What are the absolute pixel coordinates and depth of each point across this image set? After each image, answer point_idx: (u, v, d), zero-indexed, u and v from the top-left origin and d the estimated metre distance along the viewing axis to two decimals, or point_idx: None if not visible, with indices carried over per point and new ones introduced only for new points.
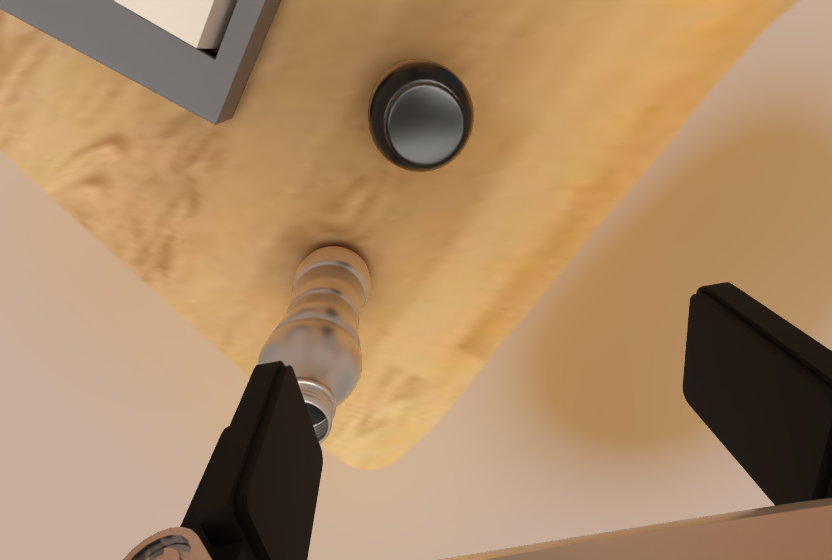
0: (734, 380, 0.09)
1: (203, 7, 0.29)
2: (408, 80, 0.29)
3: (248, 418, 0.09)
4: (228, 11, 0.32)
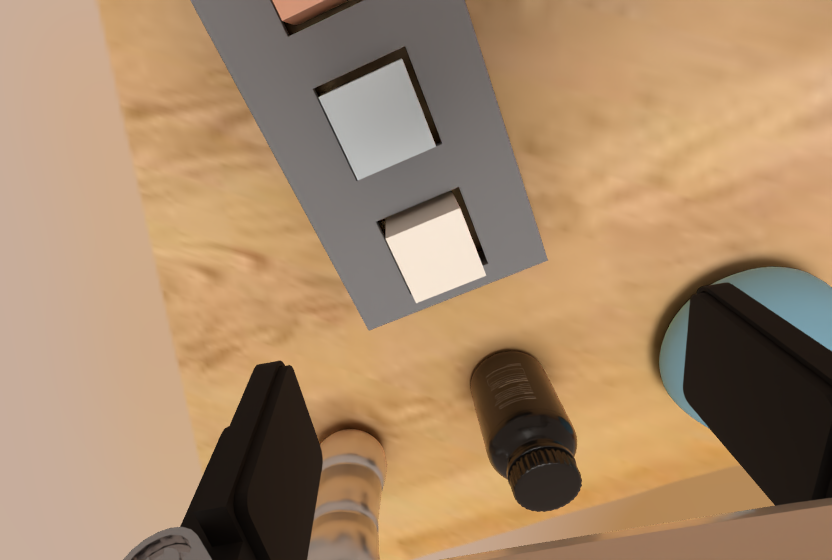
0: (734, 380, 0.09)
1: (446, 285, 0.32)
2: (550, 433, 0.34)
3: (248, 418, 0.09)
4: None
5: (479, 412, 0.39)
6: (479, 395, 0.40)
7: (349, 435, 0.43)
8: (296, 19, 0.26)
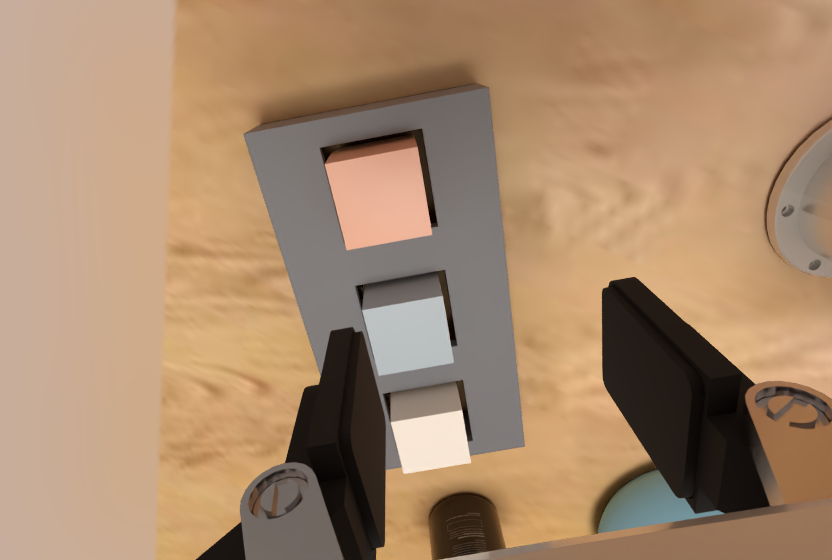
0: (633, 366, 0.10)
1: (434, 464, 0.35)
2: None
3: (336, 373, 0.10)
4: None
5: (435, 555, 0.42)
6: (437, 537, 0.43)
7: None
8: None
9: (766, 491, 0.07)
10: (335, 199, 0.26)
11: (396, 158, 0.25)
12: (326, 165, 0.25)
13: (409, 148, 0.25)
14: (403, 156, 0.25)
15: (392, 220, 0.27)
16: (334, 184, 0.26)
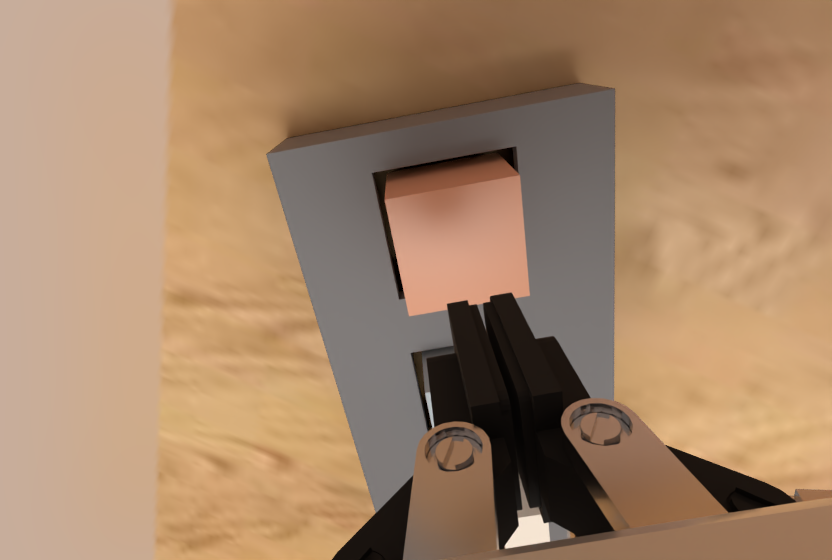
0: None
1: None
2: None
3: (471, 341, 0.10)
4: None
5: None
6: None
7: None
8: None
9: (610, 521, 0.07)
10: (396, 248, 0.18)
11: (488, 191, 0.18)
12: (387, 201, 0.18)
13: (507, 177, 0.17)
14: (497, 188, 0.18)
15: (475, 276, 0.19)
16: (397, 227, 0.18)
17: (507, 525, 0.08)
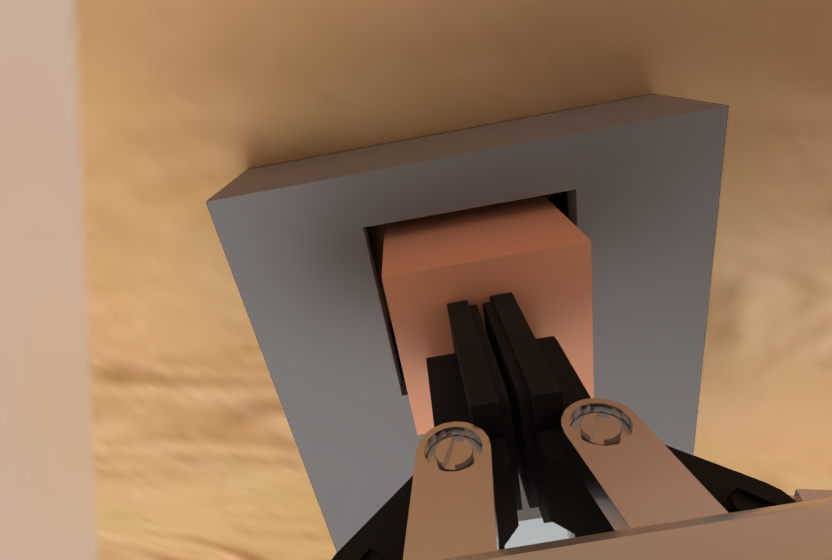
0: None
1: None
2: None
3: (471, 341, 0.10)
4: None
5: None
6: None
7: None
8: None
9: (610, 521, 0.07)
10: (399, 345, 0.12)
11: (541, 264, 0.11)
12: (385, 279, 0.11)
13: (571, 243, 0.11)
14: (556, 259, 0.11)
15: None
16: (400, 317, 0.12)
17: (507, 526, 0.08)
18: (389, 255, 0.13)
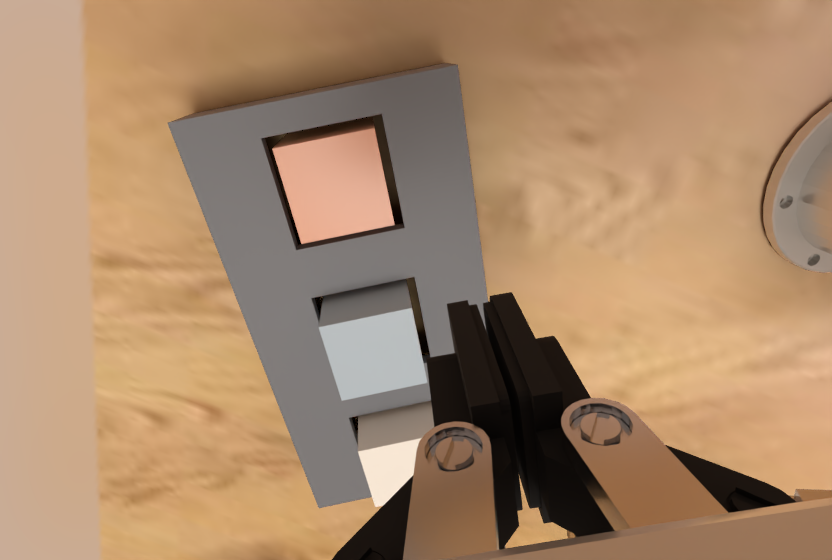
0: None
1: None
2: None
3: (471, 341, 0.10)
4: None
5: None
6: None
7: None
8: None
9: (610, 521, 0.07)
10: (285, 187, 0.24)
11: (351, 141, 0.23)
12: (274, 150, 0.23)
13: (365, 130, 0.23)
14: (358, 138, 0.23)
15: (350, 210, 0.25)
16: (284, 171, 0.24)
17: (507, 526, 0.08)
18: (280, 143, 0.24)
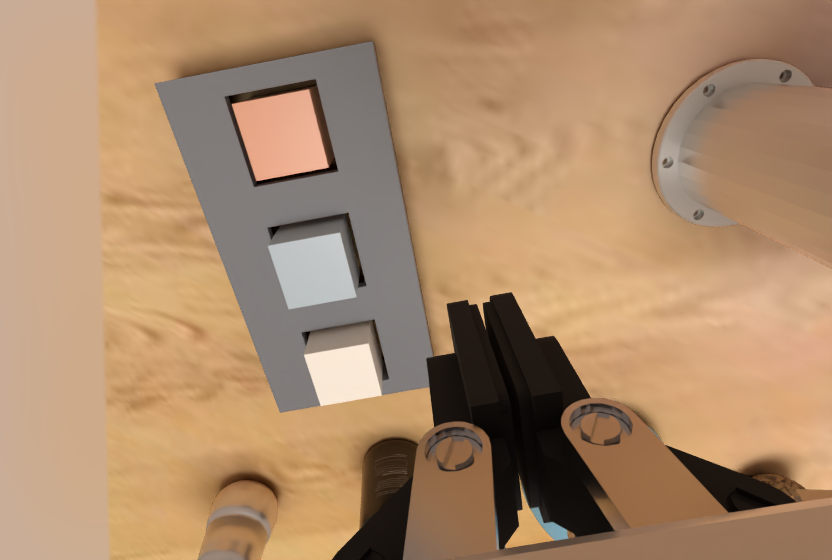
0: None
1: (348, 397, 0.38)
2: None
3: (471, 341, 0.10)
4: None
5: (362, 492, 0.45)
6: (366, 476, 0.46)
7: (248, 487, 0.48)
8: None
9: (610, 521, 0.07)
10: (242, 135, 0.31)
11: (291, 99, 0.30)
12: (233, 105, 0.30)
13: (302, 90, 0.30)
14: (297, 97, 0.30)
15: (293, 154, 0.32)
16: (241, 122, 0.31)
17: (507, 526, 0.08)
18: (240, 101, 0.32)
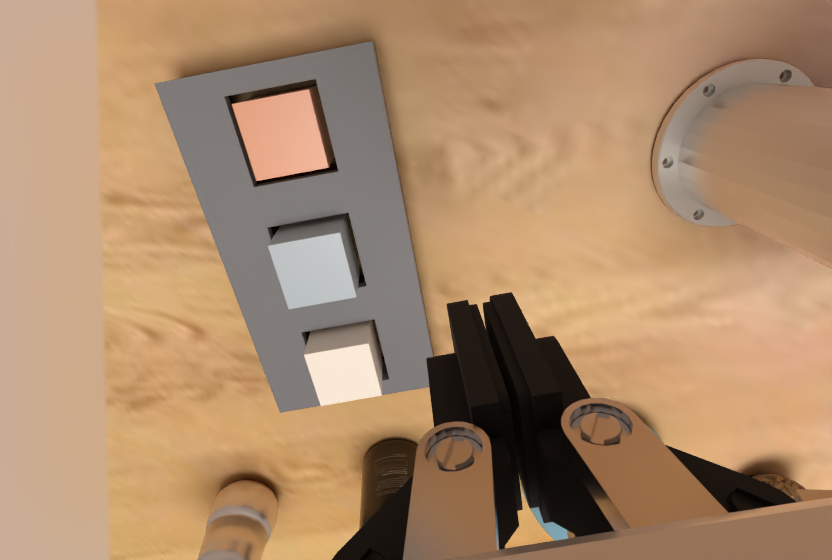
0: None
1: (348, 397, 0.38)
2: None
3: (471, 341, 0.10)
4: None
5: (362, 492, 0.45)
6: (366, 476, 0.46)
7: (249, 487, 0.48)
8: None
9: (610, 521, 0.07)
10: (242, 135, 0.31)
11: (291, 99, 0.30)
12: (233, 105, 0.30)
13: (302, 90, 0.30)
14: (297, 97, 0.30)
15: (293, 154, 0.32)
16: (241, 122, 0.31)
17: (506, 526, 0.08)
18: (240, 101, 0.32)
